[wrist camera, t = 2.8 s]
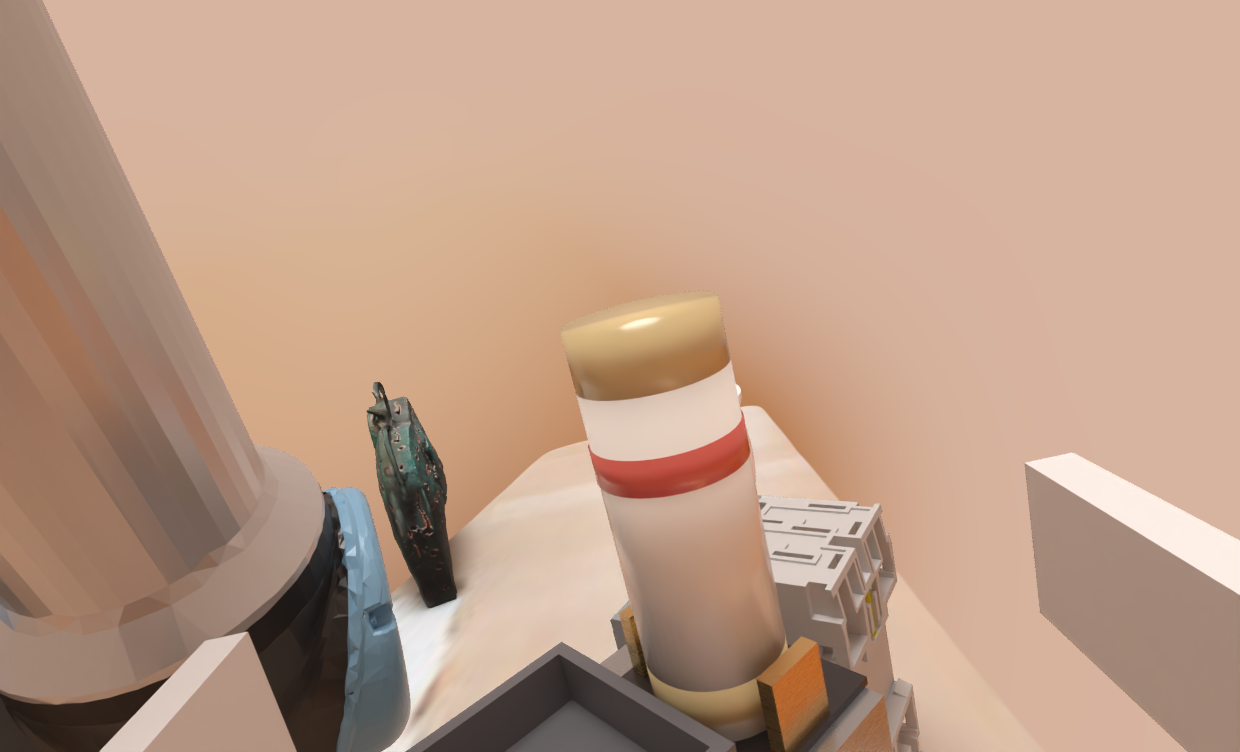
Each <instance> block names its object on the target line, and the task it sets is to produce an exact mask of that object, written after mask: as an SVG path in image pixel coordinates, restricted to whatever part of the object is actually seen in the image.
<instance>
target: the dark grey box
mask: <svg viewBox="0 0 1240 752" xmlns="http://www.w3.org/2000/svg"><path fill="white" fill-rule="evenodd" d="M619 616H620V620H621V624H622V627H623V631H624V635H625V639H626V643H627V644H626V645H624V646H623V647H622V648H620V649H619V650H618V651H617V652H615V653H614V654H613V655H611V656H610V657H609V658H607V659H606V660H605V661H603V662H602V663H601V664H600V665H602V666H603V667H605V668H607V669H609V670H610V671H612V672H614V673H615V674H617V675H619V676H620V677H622V678H624V679H626V680H627V681H629V682H631V683H632V684H634V685H636V686H638V687H639V688H641V689H643V690H644V691H646V692H648V693H649V694H651V695H653V696H654V693H653V689H652V686H651V682H650V678H649V674H648V670H647V666H646V662H645V658H644V655H643V651H642V647H641V643H640V639H639V635H638V631H637V628H636V624H635V620H634V616H633V612H632V608H631V605H630V606H628V607H627V608H626V609H624V610H623V611H621V612H620V613H619ZM787 646H788V650H786V651H785V652H784V653H783V654H782V655H781V656H780V657H779V658H778V659H777V660H776V661H775V662H774V663H773V664H772V665H771V666H770V667H769V668H767V669H766V670H765V671H764V672H763V673H762V674H761V675H760V676H759V677H758V678H757V679H756V680H757V685H758V690H759V695H760V699H761V704H762V709H763V714H764V718H765V723H766V728H767V730H765V731H763V732H761V733H759V734H757V735H755V736H752V737H750V738H747V739H743V740H740V741H734V742H733V743H735V746H736V751H737V752H893V749H892V743H891V737H890V731H889V724H888V718H887V712H886V705H885V699H884V695H882V694H879V693H877V692H875V691H872V690H870V689H868V688H865V687H866V686H867V685H868V681H867V677H866V676H864V675H861V674H859V673H857V672H854V671H852V670H849V669H847V668H844V667H842V666H840V665H837V664H835V663H832V662H830V661H827V660H825V659H823V658H820V655H819V649H818V644H817V642H815V641H812V640H810V639H807V638H805V637H802V636H801V637H800V638H799V639H798V640H797V641H796V642H795V643H794V644H793V645H792V646H791V645H789V644H787Z"/></svg>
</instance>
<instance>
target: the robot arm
mask: <svg viewBox="0 0 1240 752" xmlns="http://www.w3.org/2000/svg"><path fill="white" fill-rule="evenodd" d="M1025 471H1026V480H1027V491H1028V500H1029V509H1030V520H1031V530H1032V539H1033V548H1034V559H1035V568H1036V578H1037V587H1038V597H1039V606H1040V613H1041V614H1042V615H1043V616H1044V617H1045V618H1047V619H1048V620H1049V621H1050V622H1051V623H1052V624H1053V625H1054V626H1055V627H1056V628H1057V629H1058V630H1059V631H1060V632H1061V633H1062V634H1064V635H1065V636H1066V637H1067V638H1068V639H1069V640H1070V641H1071V642H1072V643H1073V644H1074V645H1075V646H1076V647H1077V648H1079V650H1080V651H1082V652H1083V653H1084V654H1085V655H1086V656H1087V657H1088V658H1089V659H1090V660H1091V661H1092V662H1093V663H1094V664H1095V665H1096V666H1097V667H1098V668H1100V669H1101V670H1102V671H1103V672H1104V673H1105V674H1106V675H1107V676H1108V677H1109V678H1110V679H1111V680H1112V681H1113V682H1114V683H1115V684H1117V685H1118V686H1119V687H1120V688H1121V689H1122V690H1123V691H1124V692H1125V693H1126V694H1127V695H1128V696H1129V697H1130V698H1131V699H1132V700H1133V701H1135V702H1136V703H1137V704H1138V705H1139V706H1140V707H1141V708H1142V709H1143V710H1144V711H1145V712H1146V713H1147V714H1148V715H1149V716H1150V717H1152V718H1153V719H1154V720H1155V721H1156V722H1157V723H1158V724H1159V725H1160V726H1161V727H1162V728H1163V729H1164V730H1165V731H1166V732H1167V733H1168V734H1170V735H1171V736H1172V737H1173V738H1174V739H1175V740H1176V741H1177V742H1178V743H1179V744H1180V745H1181V746H1182V747H1183V748H1184V749H1186V751H1188V752H1240V540H1238V539H1236V538H1234V537H1232V536H1230V535H1228V534H1226V533H1225V532H1223V531H1221V530H1219V529H1217V528H1215V527H1213V526H1211V525H1209V524H1207V523H1206V522H1204V521H1202V520H1200V519H1198V518H1196V517H1194V516H1192V515H1190V514H1188V513H1186V512H1184V511H1183V510H1181V509H1179V508H1177V507H1175V506H1173V505H1171V504H1169V503H1167V502H1165V501H1164V500H1162V499H1160V498H1158V497H1156V496H1154V495H1152V494H1150V493H1149V492H1147V491H1144V490H1143V489H1141V488H1139V487H1137V486H1135V485H1133V484H1132V483H1130V482H1128V481H1126V480H1124V479H1122V478H1120V477H1118V476H1116V475H1114V474H1113V473H1111V472H1108V471H1107V470H1105V469H1103V468H1101V467H1099V466H1097V465H1095V464H1093V463H1092V462H1090V461H1088V460H1086V459H1084V458H1082V457H1080V456H1078V455H1076V454H1074V453H1073V452H1072V453H1068V454H1063V455H1059V456H1054V457H1049V458H1045V459H1040V460H1036V461H1031V462H1026V463H1025ZM392 607H393V604H392V600H391V596H390V592H389V584H388V579H387V575H386V570H385V566H384V561H383V557H382V553H381V549H380V545H379V541H378V537H377V533H376V529H375V525H374V521H373V518H372V514H371V511H370V508H369V504H368V502H367V499H366V497H365V495H364V493H363V492H362V491H360V490H359V489H357V488H352V487H348V488H342V489H338V488H333V487H331V488H329V489H328V490H323V491H322V490H321V487H320V485H319V483H318V482H317V480H316V479H315V477H314V475H313V474H312V472H311V471H310V470H309V468H308V467H307V466H306V465H305V464H304V463H302V462H301V461H299V459H297V458H296V457H294V456H292V455H290V454H288V453H286V452H284V451H281V450H277V449H274V448H271V447H266V446H260V445H254V444H253V443H252V441H251V439H250V436H249V434H248V432H247V430H246V428H245V426H244V424H243V422H242V420H241V418H240V415H239V413H238V411H237V409H236V407H235V405H234V403H233V401H232V399H231V396H230V394H229V392H228V390H227V388H226V386H225V384H224V382H223V380H222V378H221V376H220V373H219V371H218V369H217V367H216V365H215V363H214V361H213V359H212V357H211V355H210V352H209V350H208V348H207V346H206V344H205V342H204V340H203V338H202V335H201V333H200V331H199V329H198V327H197V325H196V323H195V321H194V319H193V317H192V314H191V312H190V310H189V308H188V306H187V304H186V302H185V300H184V298H183V295H182V293H181V291H180V289H179V287H178V285H177V283H176V281H175V279H174V276H173V275H172V272H171V270H170V268H169V266H168V264H167V262H166V260H165V258H164V256H163V253H162V251H161V249H160V248H159V245H158V243H157V241H156V239H155V237H154V234H153V232H152V231H151V228H150V226H149V224H148V222H147V220H146V218H145V215H144V213H143V211H142V209H141V207H140V205H139V203H138V201H137V199H136V196H135V194H134V192H133V190H132V188H131V186H130V184H129V182H128V180H127V178H126V175H125V173H124V171H123V169H122V167H121V165H120V163H119V161H118V159H117V156H116V154H115V152H114V150H113V148H112V146H111V144H110V142H109V140H108V138H107V135H106V133H105V131H104V129H103V127H102V125H101V123H100V121H99V119H98V117H97V114H96V112H95V110H94V108H93V106H92V104H91V102H90V100H89V98H88V96H87V93H86V91H85V89H84V87H83V85H82V83H81V81H80V79H79V77H78V74H77V72H76V70H75V68H74V66H73V64H72V62H71V60H70V58H69V55H68V53H67V51H66V49H65V47H64V45H63V43H62V41H61V39H60V37H59V35H58V33H57V30H56V28H55V26H54V24H53V22H52V20H51V18H50V16H49V13H48V11H47V9H46V7H45V5H44V3H43V1H42V0H0V752H381V751H383V750H385V749H386V748H388V747H390V746H391V745H392V744H393V743H394V742H395V741H396V740H397V739H398V738H399V737H400V735H401V734H402V732H403V730H404V729H405V727H406V724H407V722H408V719H409V715H410V692H409V685H408V678H407V672H406V666H405V661H404V656H403V650H402V645H401V641H400V636H399V631H398V627H397V623H396V619H395V615H394V614H393V611H392Z"/></svg>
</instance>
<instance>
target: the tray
mask: <svg viewBox="0 0 1240 752" xmlns="http://www.w3.org/2000/svg"><path fill="white" fill-rule="evenodd" d="M406 752H737V751H736V746H735V743H733V742H731V741H730V740H728V739H726V738H724V737H723V736H721V735H719V734H718V733H716V732H714V731H713V730H711V729H709V728H707V727H706V726H704V725H702V724H701V723H699V722H697V721H695V720H694V719H692V718H690V717H689V716H687V715H685V714H684V713H682V712H680V711H678V710H677V709H675V708H673V707H672V706H670V705H668V704H667V703H665V702H663V701H661V700H660V699H658V698H656V697H655V696H653V695H651V694H649V693H648V692H646V691H644V690H643V689H641V688H639V687H638V686H636V685H634V684H632V683H631V682H629V681H627V680H626V679H624V678H622V677H620V676H619V675H617V674H615V673H614V672H612V671H610V670H609V669H607V668H605V667H603V666H602V665H600V664H598V663H597V662H595V661H593V660H591V659H590V658H588V657H586V656H585V655H583V654H581V653H580V652H578V651H576V650H574V649H573V648H571V647H569V646H568V645H566V644H564V643H563V642H561V643H559V644H558V645H557V646H555V647H554V648H552V649H551V650H550V651H548V652H547V653H545V654H544V655H542V656H541V657H540V658H538V659H537V660H535V661H534V662H532V663H531V664H530V665H528V666H527V667H525V668H524V669H523V670H521V671H520V672H518V673H517V674H515V675H514V676H513V677H511V678H510V679H508V680H507V681H505V682H504V683H503V684H501V685H500V686H498V687H497V688H496V689H494V690H493V691H491V692H490V693H488V694H487V695H486V696H484V697H483V698H481V699H480V700H478V701H477V702H476V703H474V704H473V705H471V706H470V707H469V708H467V709H466V710H464V711H463V712H461V713H460V714H459V715H457V716H456V717H454V718H453V719H451V720H450V721H449V722H447V723H446V724H444V725H443V726H442V727H440V728H439V729H437V730H436V731H434V732H433V733H432V734H430V735H429V736H427V737H426V738H424V739H423V740H422V741H420V742H419V743H417V744H416V745H415V746H413V747H412V748H410V749H409V750H407V751H406Z"/></svg>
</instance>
